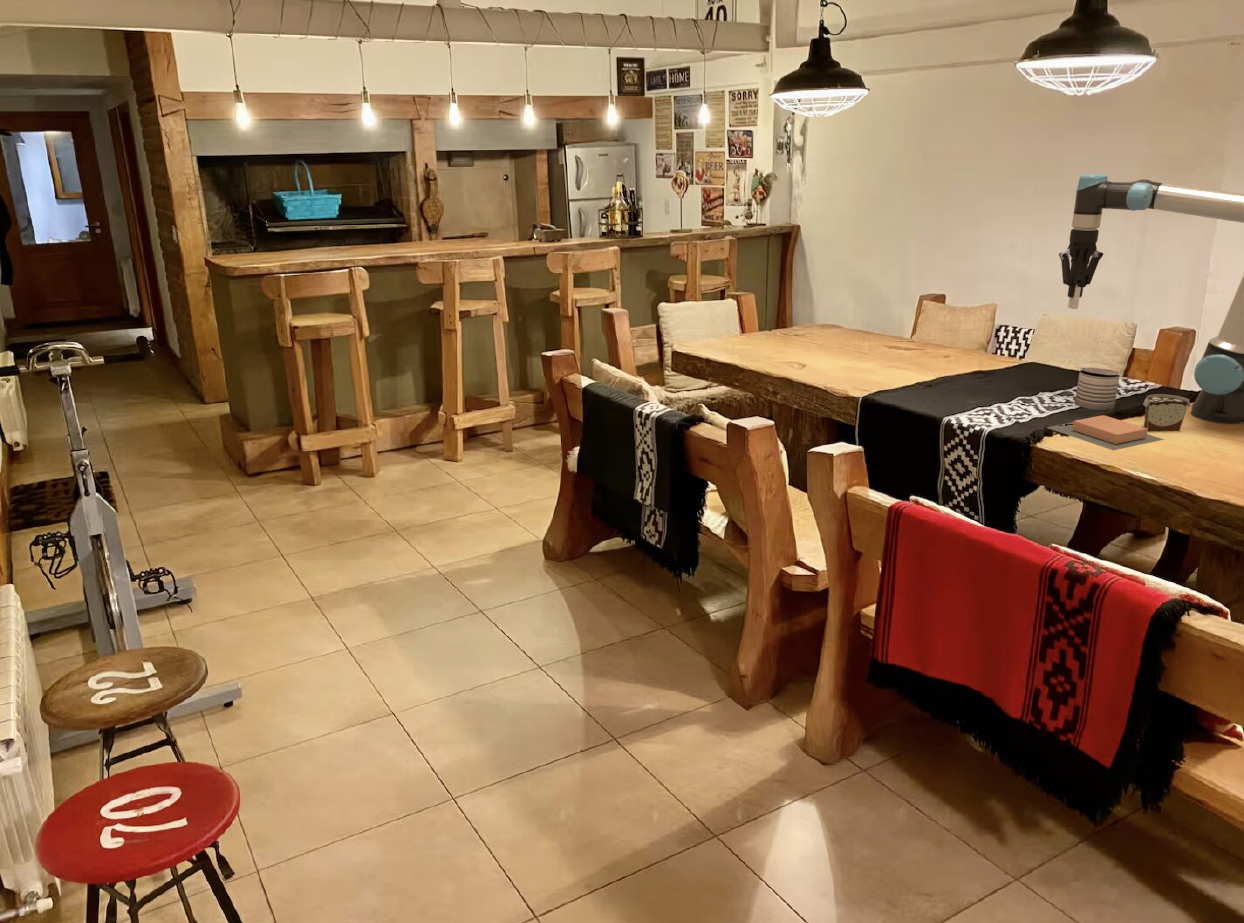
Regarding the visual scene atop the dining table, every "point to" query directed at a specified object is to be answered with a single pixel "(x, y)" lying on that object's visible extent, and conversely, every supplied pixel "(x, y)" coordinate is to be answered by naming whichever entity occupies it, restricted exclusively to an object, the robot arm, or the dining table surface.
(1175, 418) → the food container
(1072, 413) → the dining table surface
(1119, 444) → the mat
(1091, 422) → the tile
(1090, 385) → the can
